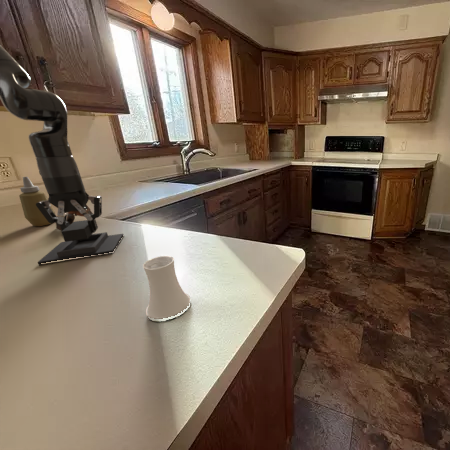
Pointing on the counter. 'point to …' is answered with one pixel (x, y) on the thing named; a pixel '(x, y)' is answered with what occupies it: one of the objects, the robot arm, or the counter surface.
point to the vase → (164, 289)
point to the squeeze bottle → (32, 203)
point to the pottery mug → (70, 218)
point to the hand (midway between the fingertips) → (81, 233)
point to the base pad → (83, 247)
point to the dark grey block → (77, 231)
